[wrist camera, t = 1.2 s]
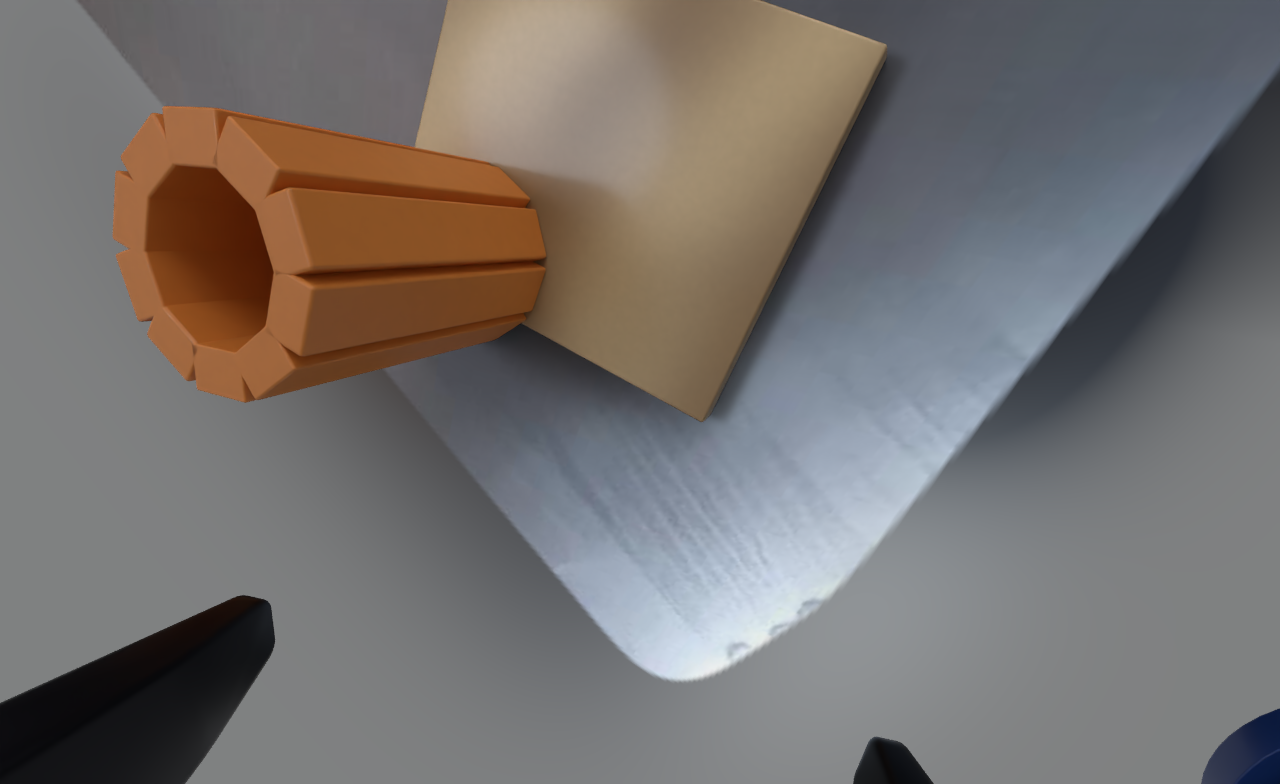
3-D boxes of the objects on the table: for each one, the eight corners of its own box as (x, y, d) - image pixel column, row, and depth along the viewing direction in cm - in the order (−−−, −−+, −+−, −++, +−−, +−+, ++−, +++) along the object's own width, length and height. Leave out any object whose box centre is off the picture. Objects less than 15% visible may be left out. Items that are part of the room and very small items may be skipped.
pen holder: (570, 200, 20) (334, 171, 11) (513, 370, 22) (284, 450, 14) (424, 131, 21) (118, 58, 13) (385, 297, 24) (107, 328, 15)
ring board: (888, 54, 17) (890, -15, 12) (710, 416, 21) (662, 464, 16) (489, -88, 20) (372, -185, 15) (408, 251, 24) (298, 254, 20)
